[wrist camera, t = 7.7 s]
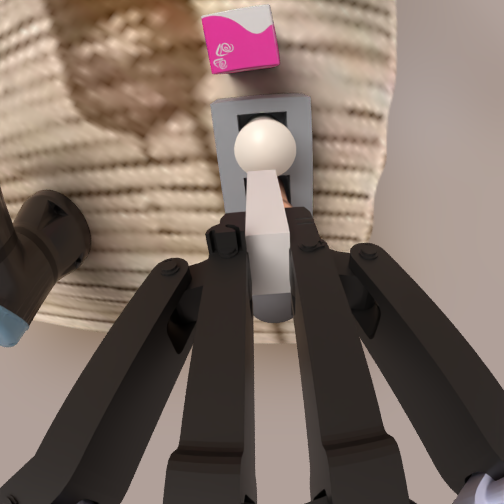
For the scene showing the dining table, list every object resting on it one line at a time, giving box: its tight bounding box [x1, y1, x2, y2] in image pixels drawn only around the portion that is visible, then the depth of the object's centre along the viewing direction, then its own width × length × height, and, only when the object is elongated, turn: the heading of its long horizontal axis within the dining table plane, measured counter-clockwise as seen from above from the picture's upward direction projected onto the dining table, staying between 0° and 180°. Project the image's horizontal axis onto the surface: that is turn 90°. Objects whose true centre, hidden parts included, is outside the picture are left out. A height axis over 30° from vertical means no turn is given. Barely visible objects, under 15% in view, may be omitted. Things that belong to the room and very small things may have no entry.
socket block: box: [210, 93, 313, 218], centre depth 35 cm, size 10×22×6 cm, turn 5°
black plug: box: [252, 292, 293, 323], centre depth 32 cm, size 5×5×9 cm
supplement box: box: [201, 5, 280, 74], centre depth 23 cm, size 6×6×12 cm
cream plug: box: [234, 113, 296, 176], centre depth 27 cm, size 5×5×9 cm
